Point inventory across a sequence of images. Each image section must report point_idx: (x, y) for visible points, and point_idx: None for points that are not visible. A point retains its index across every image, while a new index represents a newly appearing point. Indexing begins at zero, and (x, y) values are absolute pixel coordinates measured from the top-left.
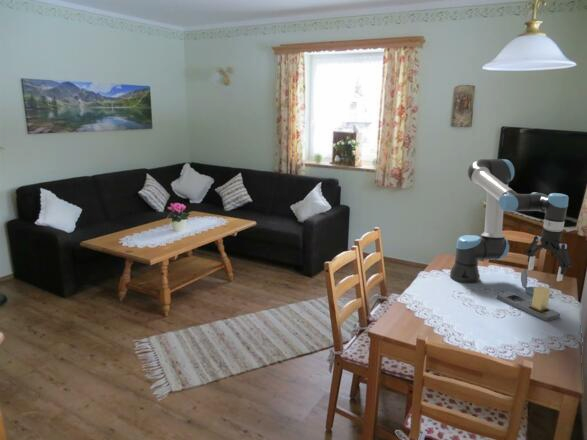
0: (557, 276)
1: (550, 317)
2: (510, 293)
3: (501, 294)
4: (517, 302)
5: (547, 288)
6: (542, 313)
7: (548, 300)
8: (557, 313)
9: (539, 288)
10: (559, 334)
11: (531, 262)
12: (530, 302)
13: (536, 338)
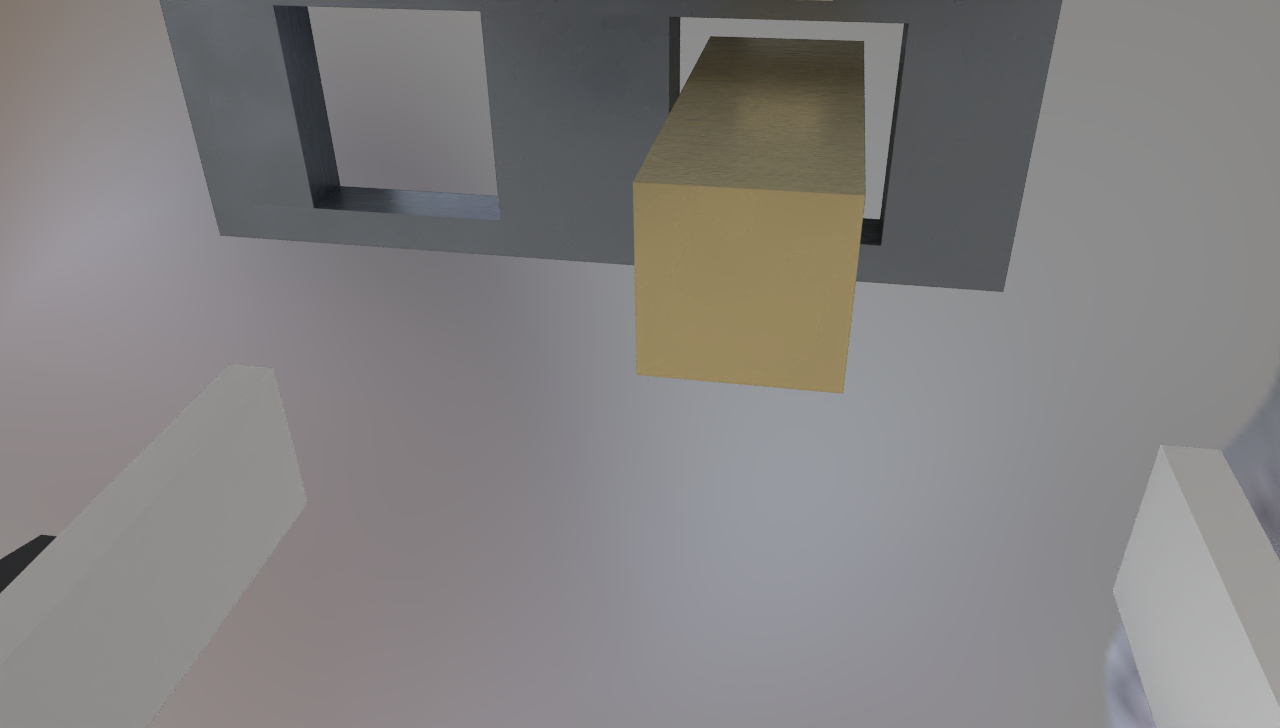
0: (1156, 702)
1: (1015, 216)
2: (218, 15)
3: (227, 174)
4: (502, 216)
5: (794, 198)
6: (896, 237)
7: (864, 113)
8: (1034, 26)
9: (713, 341)
10: (1261, 436)
11: (167, 645)
12: (568, 37)
13: (1118, 670)
